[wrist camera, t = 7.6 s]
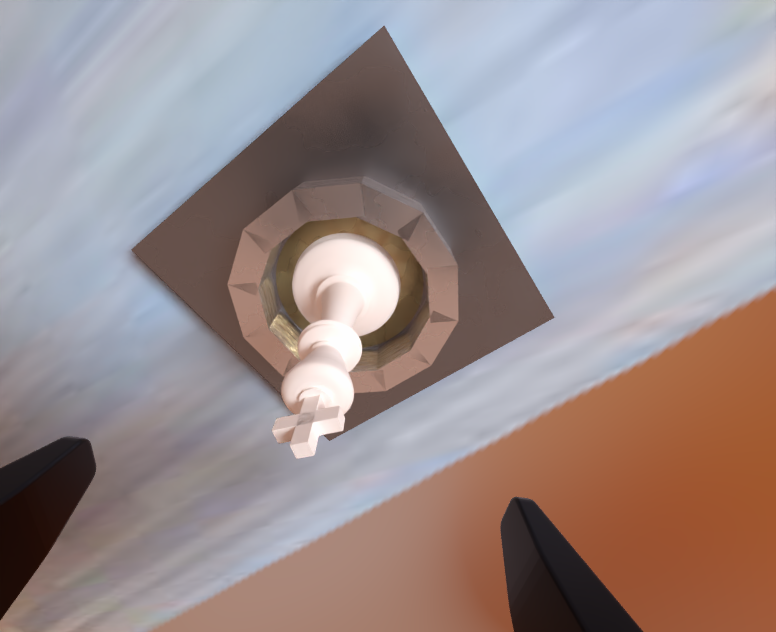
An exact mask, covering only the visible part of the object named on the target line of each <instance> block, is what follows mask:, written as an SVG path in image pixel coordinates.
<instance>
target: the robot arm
mask: <svg viewBox="0 0 776 632" xmlns="http://www.w3.org/2000/svg"><path fill="white" fill-rule="evenodd" d="M95 472H96V463H95V459H94V455H93V450H92V446H91V443H90V441H89V440H88V439H85V438H78V437H70V436H69V437H63V438H61V439H59V440H57V441H55V442H53V443H51V444H49V445H47V446H45V447H42V448H40V449H38V450H36V451H34V452H32V453H30V454H28V455H26V456H24V457H22V458H20V459H18V460H16V461H14V462H12V463H10V464H8V465H6V466H4V467H2V468H0V620H1V619H2V617H3V616H4V615H5V613H6V612H7V610H8V609H9V608H10V606H11V605H12V603H13V602H14V601H15V599H16V598H17V597H18V595H19V594H20V592H21V591H22V590H23V588H24V587H25V585H26V584H27V583H28V581H29V580H30V578H31V577H32V576H33V574H34V573H35V572H36V570H37V569H38V567H39V566H40V564H41V563H42V562H43V560H44V559H45V557H46V556H47V554H48V553H49V551H50V550H51V548H52V546H53V545H54V543H55V542H56V540H57V538H58V537H59V535H60V533H61V532H62V530H63V528H64V527H65V525H66V523H67V522H68V520H69V518H70V517H71V515H72V513H73V511H74V510H75V508H76V506H77V505H78V503H79V501H80V500H81V498H82V496H83V495H84V493H85V491H86V490H87V488H88V486H89V485H90V483H91V481H92V479H93V478H94V475H95ZM501 539H502V548H503V557H504V566H505V574H506V583H507V592H508V600H509V608H510V613H511V618H512V624H513V628H514V632H643V631H642V630H641V628H640V627H639V626H638V625H637V624H636V622H635V621H634V620H633V619H632V618H631V616H630V615H629V614H628V613H627V612H626V611H625V609H624V608H623V607H622V606H621V604H620V603H619V602H618V601H617V600H616V598H615V597H614V596H613V595H612V594H611V593H610V591H609V590H608V589H607V588H606V587H605V585H604V584H603V583H602V582H601V581H600V580H599V578H598V577H597V576H596V575H595V573H594V572H593V571H592V570H591V569H590V567H589V566H588V565H587V564H586V563H585V561H584V560H583V559H582V558H581V557H580V556H579V554H578V553H577V552H576V551H575V549H574V548H573V547H572V546H571V545H570V543H569V542H568V541H567V540H566V539H565V538H564V536H563V535H562V534H561V533H560V532H559V530H558V529H557V528H556V527H555V526H554V524H553V523H552V522H551V521H550V520H549V518H548V517H547V516H546V515H545V514H544V512H543V511H542V510H541V509H540V508H539V506H538V505H537V504H536V503H535V502H534V501H533V500H531V499H528V498H520V497H514V498H512V499H511V501H510V503H509V505H508V507H507V509H506V512H505V514H504V516H503V518H502V521H501Z"/></svg>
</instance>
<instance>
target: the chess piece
mask: <svg viewBox="0 0 776 632" xmlns="http://www.w3.org/2000/svg"><path fill="white" fill-rule="evenodd" d="M400 289H401V282H400V275H399V271H398V268H397V266H396V264H395V262H394V260H393V259H392V257H391V256H390V254H389V253H388V252H387V251H386V250H385V249H384V248H383V247H382V246H381V245H379V244H378V243H376V242H375V241H373V240H371V239H369V238H367V237H364V236H361V235H358V234H353V233H336V234H331V235H327V236H324V237H322V238H320V239H318V240H316V241H315V242H313V243H312V244H310V245H309V246H308V247H307V248H306V249H305V250H304V251H303V253H302V254H301V256H300V257H299V259H298V261H297V263H296V266H295V269H294V274H293V279H292V291H293V296H294V300H295V303H296V305H297V307H298V309H299V311H300V312H301V314H302V315H303V316H304V317H305V319H306V320H307V321H308V322H309V323H311V324H310V325H308V326H307V327H306V328H305V329H304V330H303V331H302V332H301V334H300V336H299V339H298V353H299V357H300V359H301V361H300V362H299V363H297V364H296V365H295V366H294V367H293V368H292V369H291V370H290V371H289V372H288V373H287V374H286V376H285V377H284V379H283V382H282V386H281V394H282V398H283V401H284V403H285V405H286V406H287V408H288V409H289V410H290V411H291V412H292V413H293V414H295V415H291V416H286V417H281V418H277V419H276V421H275V424H274V427H273V429H272V432H273V434H274V436H275V438H276V440H277V441H278V443H284V442H289V441H291V443H290V447H291V449H292V451H293V453H294V455H295V456H296V458H297V459H298V458H303V457H308V456H314V454H315V450H316V446H317V442H318V437H319V435H325V434H330V433H335V432H340V431H343V429H344V422H345V417H344V414H345V413H346V412H347V411H348V410H349V408H350V407H351V405H352V402H353V399H354V388H353V384H352V380H351V378H350V375H349V373H348V372H350V371H351V370H352V369H353V368H354V367H355V366H356V365H357V363H358V362H359V360H360V358H361V354H362V344H361V340H360V338H359V336H363V335H366V334H369V333H371V332H373V331H375V330H377V329H378V328H380V327H381V326H382V325H383V324H385V323H386V322H387V321H388V319H389V318H390V317H391V315H392V314H393V312H394V310H395V308H396V305H397V302H398V299H399V296H400Z"/></svg>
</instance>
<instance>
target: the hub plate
mask: <svg viewBox="0 0 776 632" xmlns="http://www.w3.org/2000/svg"><path fill="white" fill-rule="evenodd" d="M336 233H353V234H358V235H361V236H364V237H367V238H369V239H371V240H373V241H375V242H376V243H378V244H379V245H381V246H382V247H383V248H384V249H385V250H386V251H387V252H388V253H389V254H390V256H391V257H392V259H393V260H394V262H395V264H396V266H397V268H398V271H399V275H400V282H401V289H400V296H399V299H398V302H397V305H396V308H395V310H394V312H393V314H392V315H391V317H390V318H389V319H388V321H387V322H386V323H385V324H383V325H382V326H381V327H380V328H378V329H377V330H375V331H373V332H371V333H369V334H366V335H363V336H359V338H360V340H361V344H362V354H361V358H360V360H359V362H358V363H357V365H356V366H355V367H354V368H353V369H352V370H351V371H350V372H348V373H349V375H350V378H351V380H352V384H353V388H354V399H353V402H352V405H351V407H350V408H349V410H348V411H347V412H346V413H345V414H344V417H345V422H344V429H343V431H340V432H335V433H330V434H325V435H324V436H325V437H326V438H327V439H328V440H329V441H330V440H332V439H334V438H336V437H337V436H339V435H341V434H343V433H345V432H347V431H348V430H350V429H352V428H354V427H356V426H358V425H359V424H361V423H363V422H365V421H367V420H368V419H370V418H372V417H374V416H376V415H378V414H379V413H381V412H383V411H385V410H387V409H389V408H390V407H392V406H394V405H396V404H398V403H399V402H401V401H403V400H405V399H407V398H409V397H410V396H412V395H414V394H416V393H418V392H420V391H421V390H423V389H425V388H427V387H429V386H431V385H432V384H434V383H436V382H438V381H440V380H441V379H443V378H445V377H447V376H449V375H451V374H452V373H454V372H456V371H458V370H460V369H462V368H463V367H465V366H467V365H469V364H471V363H472V362H474V361H476V360H478V359H480V358H482V357H483V356H485V355H487V354H489V353H491V352H493V351H494V350H496V349H498V348H500V347H502V346H504V345H505V344H507V343H509V342H511V341H513V340H514V339H516V338H518V337H520V336H522V335H524V334H525V333H527V332H529V331H531V330H533V329H535V328H536V327H538V326H540V325H542V324H544V323H545V322H547V321H549V320H551V319H553V318H554V316H553V314H552V313H551V311H550V309H549V307H548V306H547V304H546V302H545V301H544V299H543V297H542V295H541V294H540V292H539V290H538V289H537V287H536V285H535V283H534V282H533V280H532V278H531V277H530V275H529V273H528V271H527V270H526V268H525V266H524V265H523V263H522V261H521V259H520V258H519V256H518V254H517V253H516V251H515V249H514V247H513V246H512V244H511V242H510V241H509V239H508V237H507V235H506V234H505V232H504V230H503V229H502V227H501V225H500V223H499V222H498V220H497V218H496V217H495V215H494V213H493V211H492V210H491V208H490V206H489V205H488V203H487V201H486V199H485V198H484V196H483V194H482V193H481V191H480V189H479V187H478V186H477V184H476V182H475V181H474V179H473V177H472V175H471V174H470V172H469V170H468V169H467V167H466V165H465V163H464V162H463V160H462V158H461V157H460V155H459V153H458V151H457V150H456V148H455V146H454V144H453V143H452V141H451V139H450V138H449V136H448V134H447V132H446V131H445V129H444V127H443V126H442V124H441V122H440V120H439V119H438V117H437V115H436V114H435V112H434V110H433V108H432V107H431V105H430V103H429V102H428V100H427V98H426V96H425V95H424V93H423V91H422V90H421V88H420V86H419V84H418V83H417V81H416V79H415V78H414V76H413V74H412V72H411V71H410V69H409V67H408V66H407V64H406V62H405V60H404V59H403V57H402V55H401V54H400V52H399V50H398V48H397V47H396V45H395V43H394V42H393V40H392V38H391V36H390V35H389V33H388V31H387V30H386V28H385V26H383V27H382V28H381V29H380V30H379V31H378V32H376V33H375V34H374V35H373V36H372V37H371V38H370V39H369V40H367V41H366V42H365V43H364V44H363V45H362V46H361V47H360V48H358V49H357V50H356V51H355V52H354V53H353V54H352V55H350V56H349V57H348V58H347V59H346V60H345V61H344V62H343V63H341V64H340V65H339V66H338V67H337V68H336V69H335V70H334V71H332V72H331V73H330V74H329V75H328V76H327V77H326V78H325V79H323V80H322V81H321V82H320V83H319V84H318V85H317V86H316V87H314V88H313V89H312V90H311V91H310V92H309V93H308V94H307V95H305V96H304V97H303V98H302V99H301V100H300V101H299V102H297V103H296V104H295V105H294V106H293V107H292V108H291V109H290V110H288V111H287V112H286V113H285V114H284V115H283V116H282V117H281V118H279V119H278V120H277V121H276V122H275V123H274V124H273V125H272V126H270V127H269V128H268V129H267V130H266V131H265V132H264V133H263V134H261V135H260V136H259V137H258V138H257V139H256V140H255V141H254V142H252V143H251V144H250V145H249V146H248V147H247V148H246V149H244V150H243V151H242V152H241V153H240V154H239V155H238V156H237V157H235V158H234V159H233V160H232V161H231V162H230V163H229V164H228V165H226V166H225V167H224V168H223V169H222V170H221V171H220V172H219V173H217V174H216V175H215V176H214V177H213V178H212V179H211V180H210V181H208V182H207V183H206V184H205V185H204V186H203V187H202V188H201V189H199V190H198V191H197V192H196V193H195V194H194V195H193V196H191V197H190V198H189V199H188V200H187V201H186V202H185V203H184V204H182V205H181V206H180V207H179V208H178V209H177V210H176V211H175V212H173V213H172V214H171V215H170V216H169V217H168V218H167V219H166V220H164V221H163V222H162V223H161V224H160V225H159V226H158V227H157V228H155V229H154V230H153V231H152V232H151V233H150V234H149V235H148V236H146V237H145V238H144V239H143V240H142V241H141V242H140V243H138V244H137V245H136V246H135V247H134V248H133V249H132V251H133V252H134V253H135V254H136V255H137V256H138V257H139V258H140V259H141V260H142V261H143V262H144V263H145V264H146V265H147V266H148V267H149V268H150V269H152V270H153V271H154V272H155V273H156V274H157V275H158V276H159V277H160V278H161V279H162V280H163V281H164V282H165V283H166V284H167V285H168V286H169V287H170V288H171V289H172V290H173V291H174V292H175V293H176V294H177V295H179V296H180V297H181V298H182V299H183V300H184V301H185V302H186V303H187V304H188V305H189V306H190V307H191V308H192V309H193V310H194V311H195V312H196V313H197V314H198V315H199V316H200V317H201V318H202V319H203V320H204V321H206V322H207V323H208V324H209V325H210V326H211V327H212V328H213V329H214V330H215V331H216V332H217V333H218V334H219V335H220V336H221V337H222V338H223V339H224V340H225V341H226V342H227V343H228V344H229V345H230V346H231V347H233V348H234V349H235V350H236V351H237V352H238V353H239V354H240V355H241V356H242V357H243V358H244V359H245V360H246V361H247V362H248V363H249V364H250V365H251V366H252V367H253V368H254V369H255V370H256V371H257V372H258V373H260V374H261V375H262V376H263V377H264V378H265V379H266V380H267V381H268V382H269V383H270V384H271V385H272V386H273V387H274V388H275V389H276V390H277V391H278V392H279V393H280V394H281V386H282V382H283V379H284V377H285V376H286V374H287V373H288V372H289V371H290V370H291V369H292V368H293V367H294V366H295V365H296V364H297V363H299V362H300V361H301V359H300V357H299V353H298V339H299V336H300V334H301V332H302V331H303V330H304V329H305V328H306V327H307V326H308V325H310V324H311V323H309V322H308V321H307V320H306V319H305V317H304V316H303V315H302V314H301V312H300V311H299V309H298V307H297V305H296V303H295V300H294V296H293V291H292V279H293V274H294V269H295V266H296V263H297V261H298V259H299V257H300V256H301V254H302V253H303V251H304V250H305V249H306V248H307V247H308V246H309V245H310V244H312V243H313V242H315V241H316V240H318V239H320V238H322V237H324V236H327V235H331V234H336ZM281 395H282V394H281Z"/></svg>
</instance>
